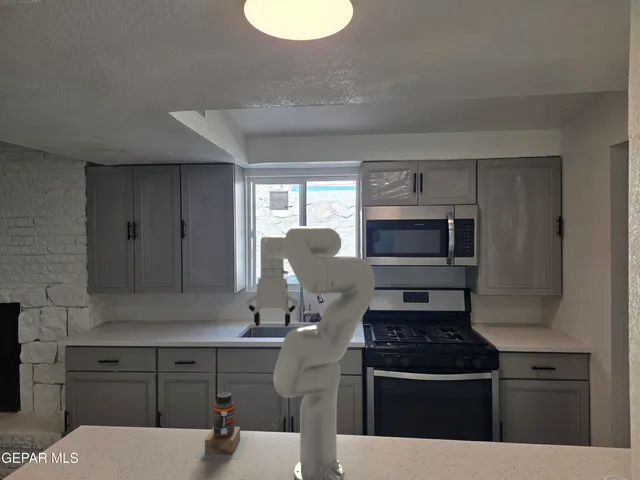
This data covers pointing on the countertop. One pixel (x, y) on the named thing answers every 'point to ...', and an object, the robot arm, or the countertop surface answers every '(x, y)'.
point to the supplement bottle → (223, 415)
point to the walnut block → (222, 443)
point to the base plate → (224, 456)
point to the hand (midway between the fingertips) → (272, 325)
